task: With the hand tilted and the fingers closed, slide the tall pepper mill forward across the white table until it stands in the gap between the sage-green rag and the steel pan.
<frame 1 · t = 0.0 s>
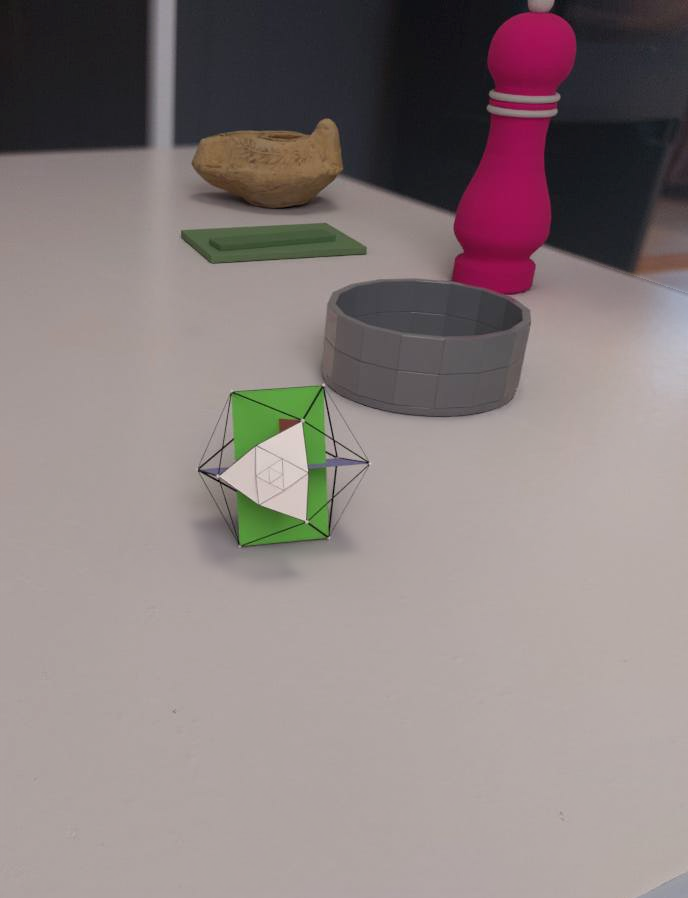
geometric puzzle: (276, 534, 47), on the table
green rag: (271, 245, 90), on the table
pepper mill: (490, 285, 82), on the table
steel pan: (418, 379, 63), on the table
oil lamp: (264, 204, 104), on the table
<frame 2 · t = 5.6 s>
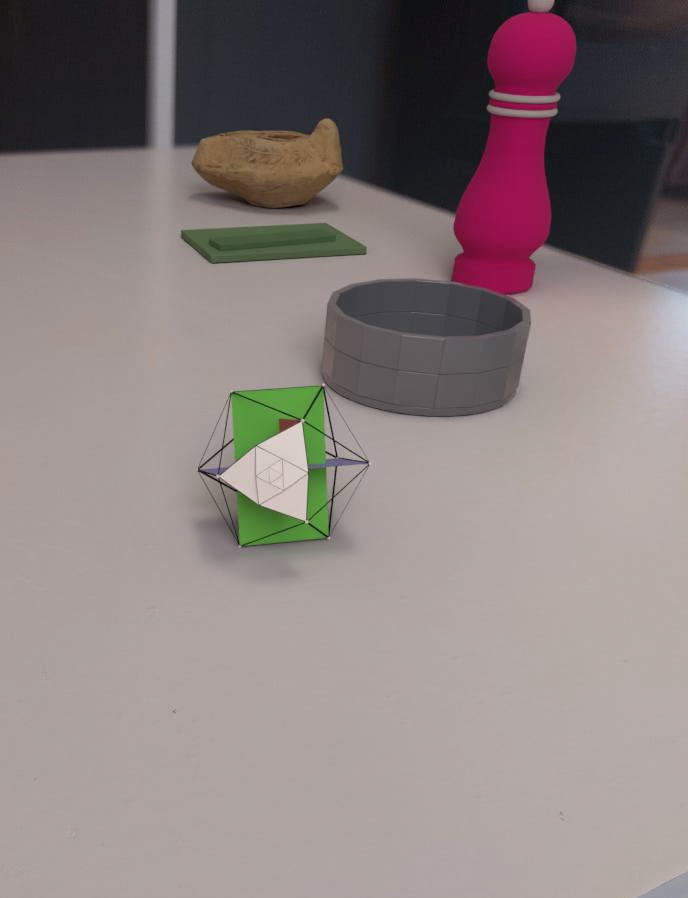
nothing on the table moved.
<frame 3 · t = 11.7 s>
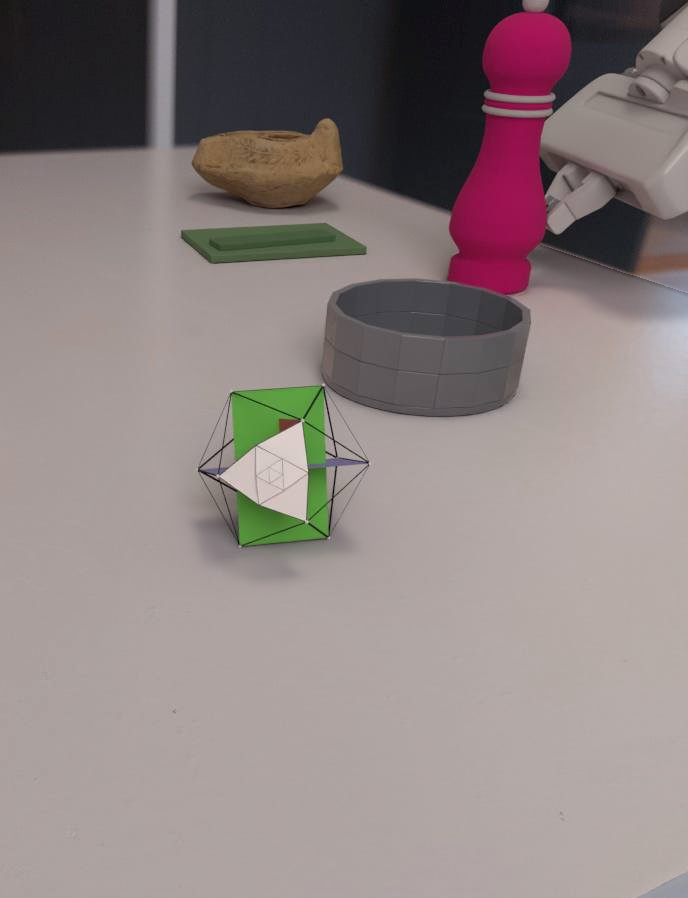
hand: (542, 224, 80), 4 cm above the table, tool tilted 45°, fingers closed
pepper mill: (486, 286, 82), on the table, touching gripper
everything else where it was.
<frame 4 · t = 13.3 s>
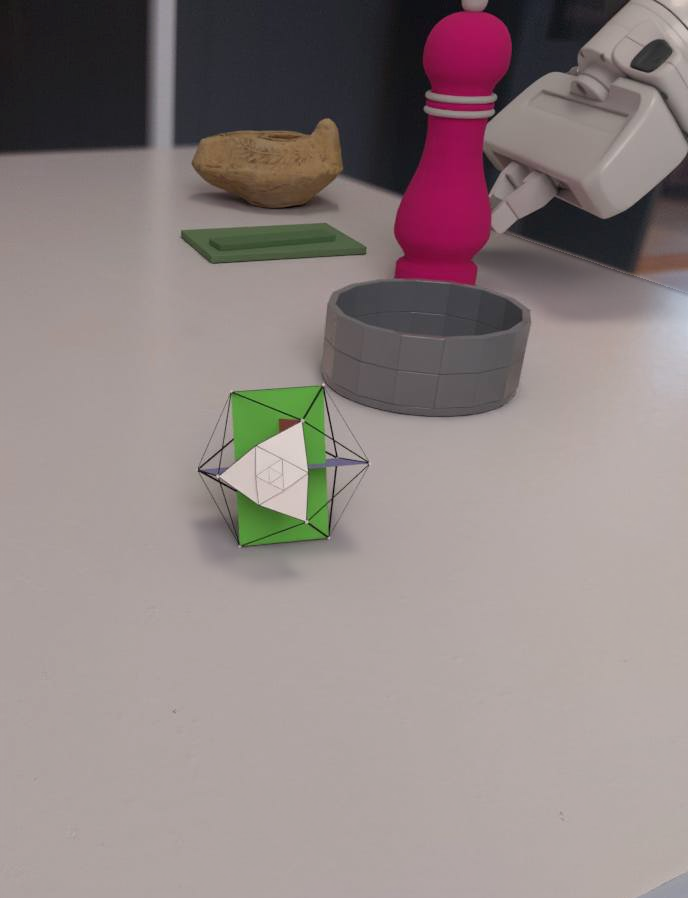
hand: (485, 223, 79), 5 cm above the table, tool tilted 45°, fingers closed, pressing on pepper mill
pepper mill: (433, 288, 81), on the table, touching gripper
everything else where it was.
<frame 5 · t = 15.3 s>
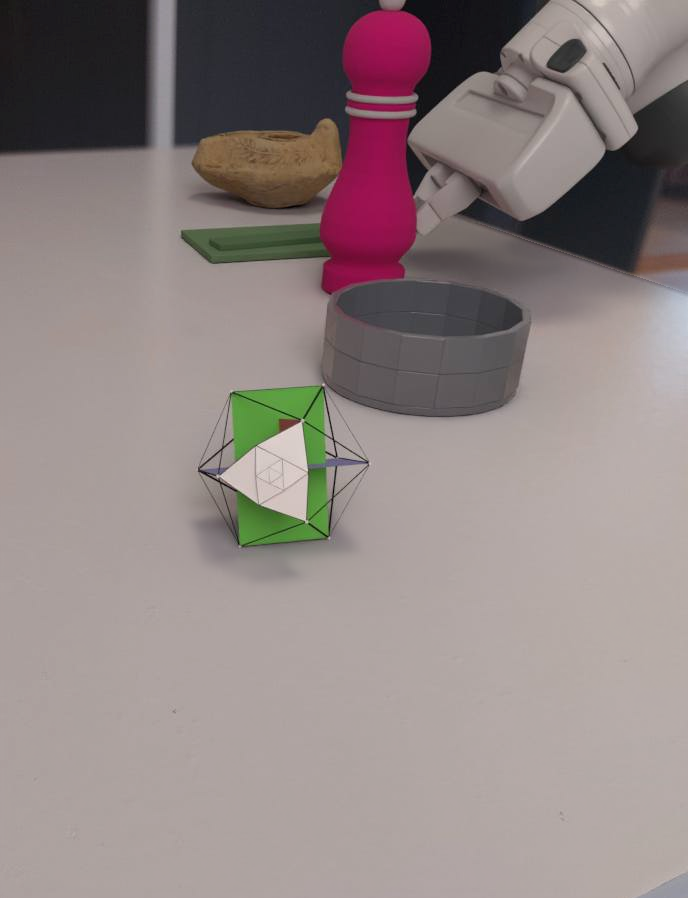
hand: (410, 225, 78), 4 cm above the table, tool tilted 45°, fingers closed, pressing on pepper mill
pepper mill: (361, 291, 80), on the table, touching gripper
everything else where it was.
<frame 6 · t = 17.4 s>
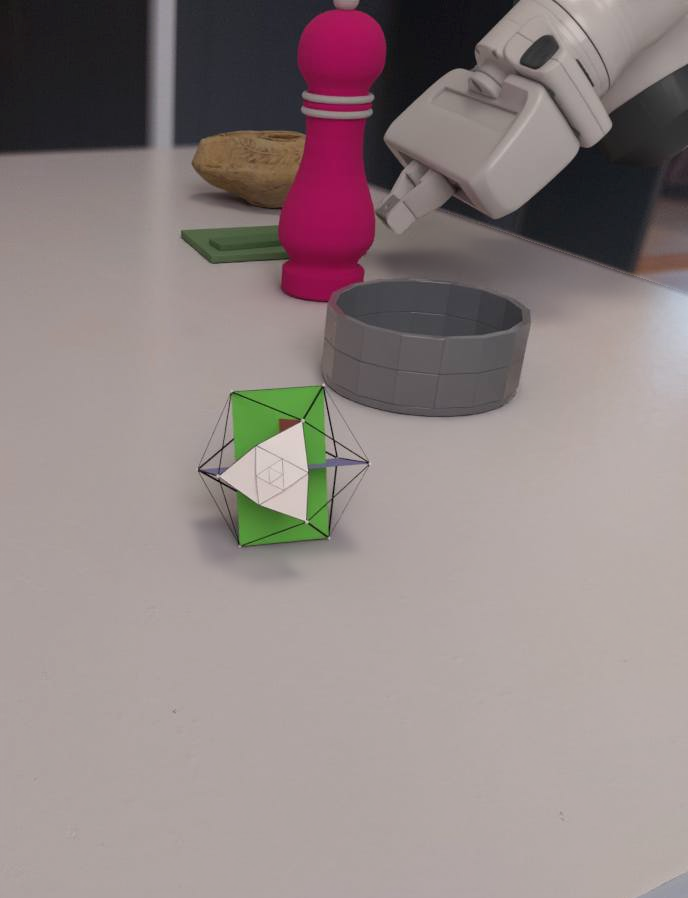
hand: (385, 224, 77), 5 cm above the table, tool tilted 45°, fingers closed
pepper mill: (321, 292, 79), on the table
everything else where it was.
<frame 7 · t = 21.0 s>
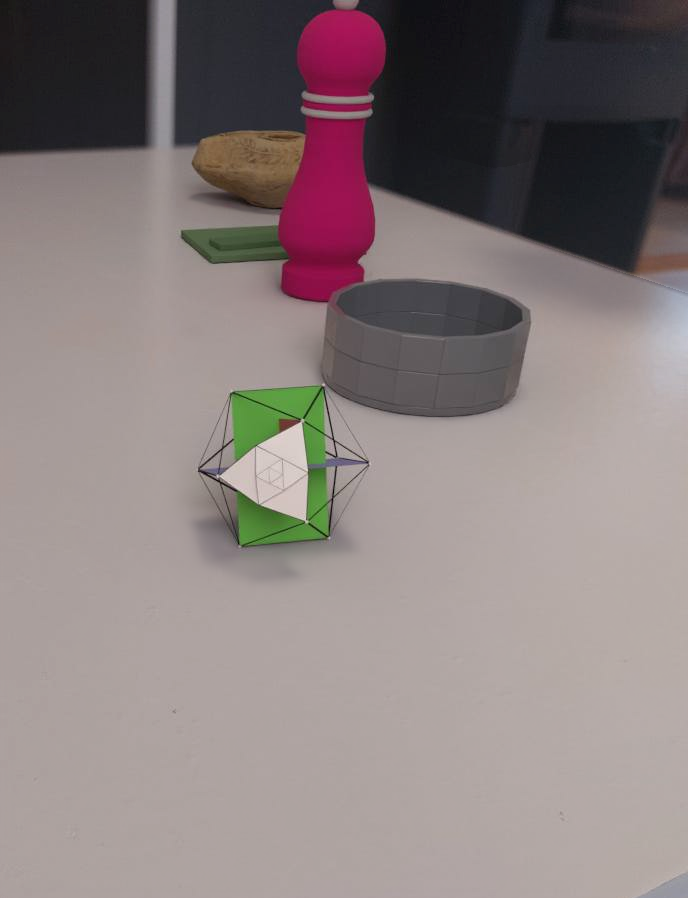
nothing on the table moved.
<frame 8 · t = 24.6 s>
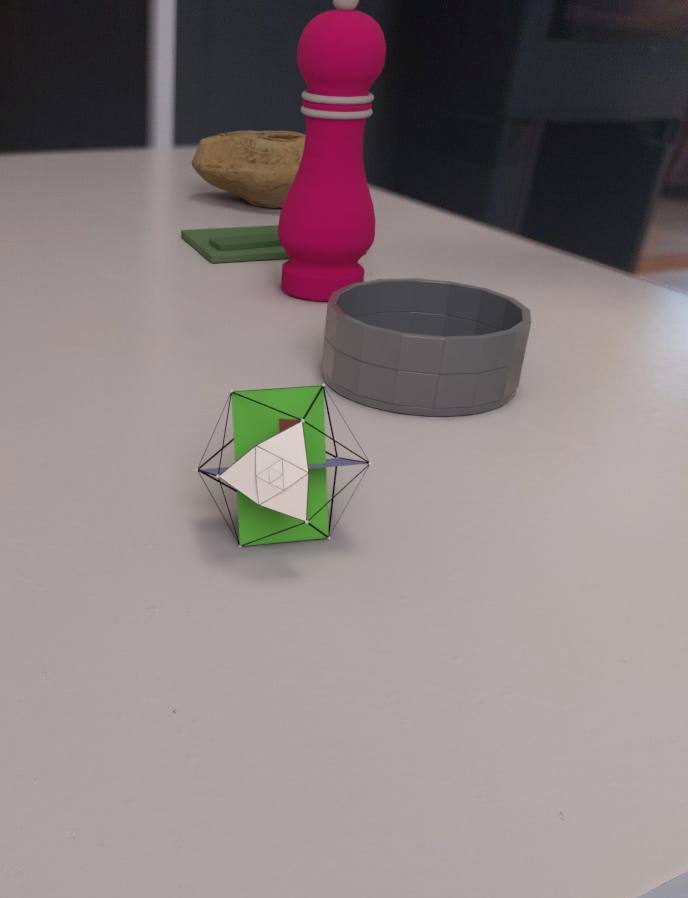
nothing on the table moved.
at the end: pepper mill inside the target area on the table beside the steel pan (1.6 cm from its centre), on the table; pepper mill inside the target area on the table beside the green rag (0.6 cm from its centre), on the table; pepper mill tilted 0° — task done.
